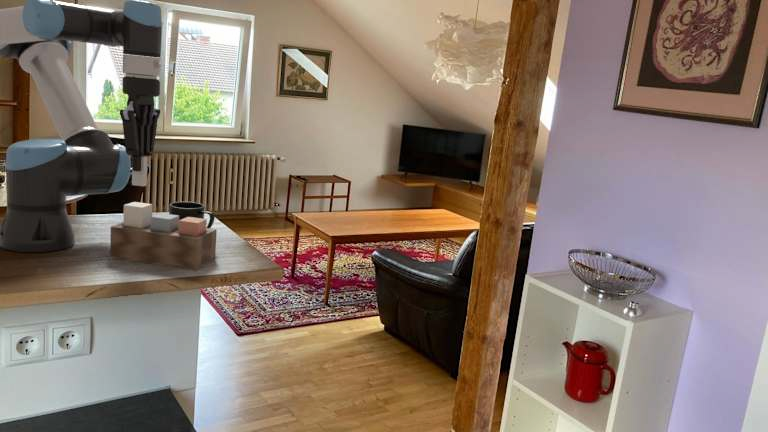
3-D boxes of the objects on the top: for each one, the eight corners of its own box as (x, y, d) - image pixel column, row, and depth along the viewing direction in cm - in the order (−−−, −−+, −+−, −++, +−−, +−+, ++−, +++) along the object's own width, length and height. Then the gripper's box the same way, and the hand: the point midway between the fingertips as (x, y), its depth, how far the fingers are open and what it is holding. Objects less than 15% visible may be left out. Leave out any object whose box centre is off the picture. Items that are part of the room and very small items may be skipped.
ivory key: (123, 235, 141) (123, 205, 139) (133, 231, 145) (134, 201, 144) (141, 238, 140) (142, 207, 139) (151, 234, 145) (152, 204, 143)
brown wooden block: (110, 257, 139) (110, 226, 138) (134, 246, 149) (135, 217, 148) (196, 270, 137) (197, 239, 135) (215, 258, 146) (216, 229, 145)
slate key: (150, 247, 140) (151, 216, 139) (160, 242, 145) (160, 213, 143) (168, 250, 140) (169, 219, 138) (178, 245, 144) (179, 215, 143)
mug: (199, 252, 150) (201, 212, 148) (160, 242, 155) (161, 204, 153) (221, 245, 158) (223, 208, 156) (184, 236, 162) (185, 200, 160)
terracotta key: (177, 251, 140) (179, 220, 138) (186, 246, 144) (188, 216, 142) (196, 254, 139) (198, 223, 138) (205, 249, 143) (206, 219, 142)
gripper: (142, 77, 129) (139, 191, 133) (172, 79, 141) (169, 183, 146) (107, 74, 130) (106, 187, 134) (141, 75, 142) (138, 179, 147)
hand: (139, 185), depth 140 cm, fingers closed
